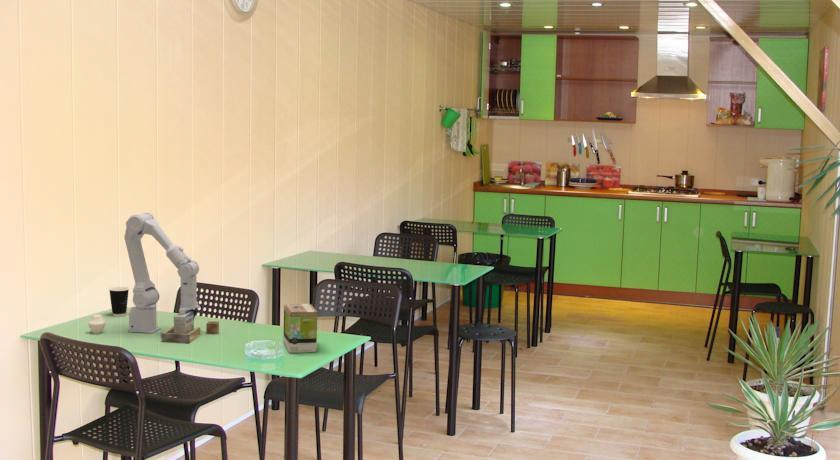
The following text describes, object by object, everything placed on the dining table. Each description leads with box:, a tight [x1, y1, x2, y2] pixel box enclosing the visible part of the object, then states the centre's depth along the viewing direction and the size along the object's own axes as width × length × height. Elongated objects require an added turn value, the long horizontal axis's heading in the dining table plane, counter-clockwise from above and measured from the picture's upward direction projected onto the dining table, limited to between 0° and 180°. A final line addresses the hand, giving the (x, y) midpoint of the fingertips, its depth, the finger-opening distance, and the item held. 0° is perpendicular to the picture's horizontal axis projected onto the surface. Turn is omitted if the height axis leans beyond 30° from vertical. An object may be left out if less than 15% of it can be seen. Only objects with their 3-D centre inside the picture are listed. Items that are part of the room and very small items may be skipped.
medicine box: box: [173, 311, 195, 334], centre depth 332 cm, size 8×4×9 cm, turn 171°
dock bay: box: [161, 326, 201, 344], centre depth 331 cm, size 10×12×3 cm
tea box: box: [282, 303, 318, 354], centre depth 321 cm, size 15×10×15 cm, turn 17°
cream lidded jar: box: [88, 313, 107, 335], centre depth 336 cm, size 6×6×7 cm
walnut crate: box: [205, 320, 220, 335], centre depth 341 cm, size 4×4×4 cm
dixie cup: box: [108, 286, 130, 317], centre depth 366 cm, size 8×8×11 cm
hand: (188, 329), depth 338 cm, fingers closed
